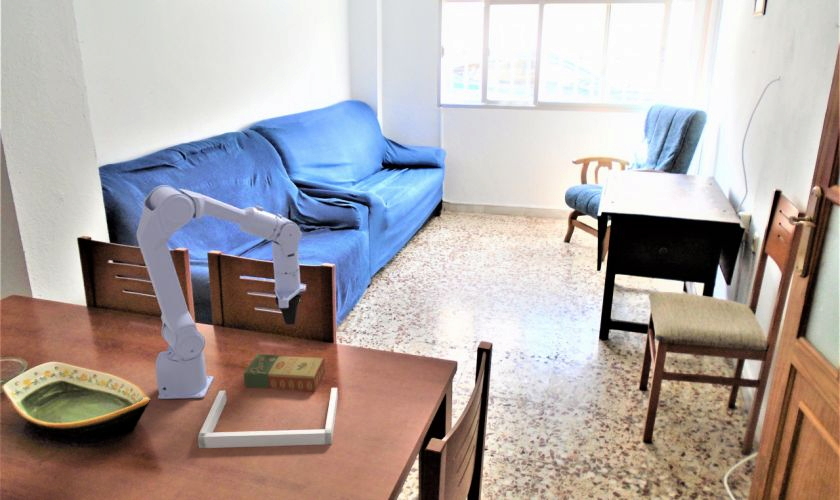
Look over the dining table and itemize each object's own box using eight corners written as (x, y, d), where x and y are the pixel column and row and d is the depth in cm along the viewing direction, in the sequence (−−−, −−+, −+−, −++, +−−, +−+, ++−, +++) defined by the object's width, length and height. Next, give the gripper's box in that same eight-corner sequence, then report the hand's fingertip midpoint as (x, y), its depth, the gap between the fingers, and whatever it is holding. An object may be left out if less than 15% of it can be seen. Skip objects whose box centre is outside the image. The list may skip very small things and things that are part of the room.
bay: (199, 448, 108) (197, 437, 108) (220, 400, 123) (219, 390, 122) (331, 444, 110) (330, 433, 109) (337, 397, 124) (337, 387, 123)
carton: (315, 393, 126) (314, 376, 125) (244, 388, 128) (242, 371, 126) (325, 372, 134) (324, 356, 133) (258, 368, 136) (256, 352, 134)
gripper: (299, 281, 127) (303, 337, 132) (308, 258, 141) (311, 309, 145) (267, 281, 127) (272, 337, 131) (278, 258, 141) (282, 309, 145)
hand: (290, 322), depth 138 cm, fingers closed
